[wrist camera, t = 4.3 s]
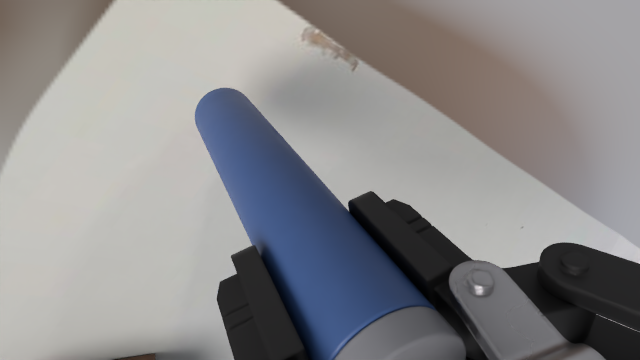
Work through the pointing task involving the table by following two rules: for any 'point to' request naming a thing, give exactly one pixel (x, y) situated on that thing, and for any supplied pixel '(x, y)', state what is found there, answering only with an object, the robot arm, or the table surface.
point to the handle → (318, 247)
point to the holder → (140, 357)
